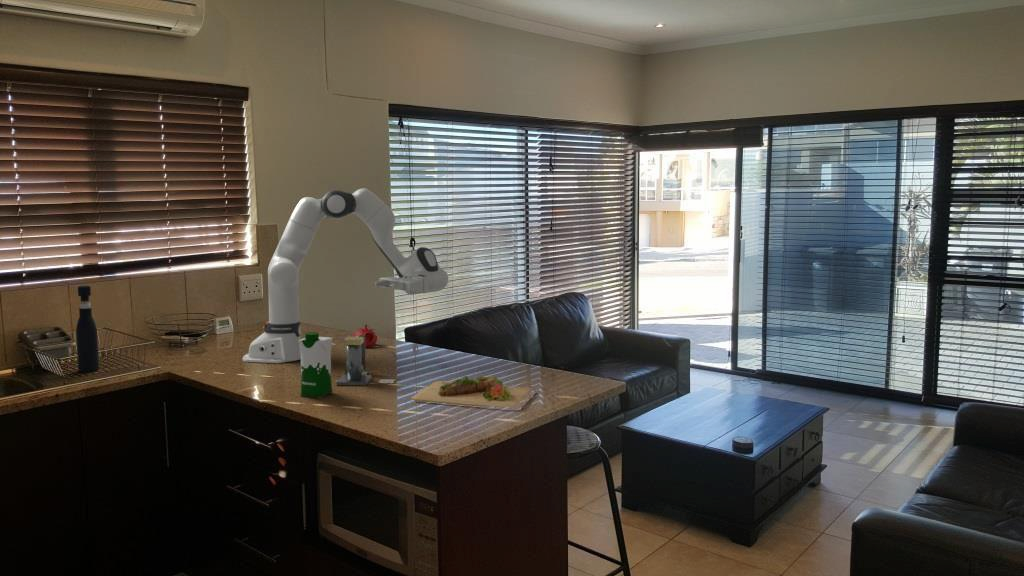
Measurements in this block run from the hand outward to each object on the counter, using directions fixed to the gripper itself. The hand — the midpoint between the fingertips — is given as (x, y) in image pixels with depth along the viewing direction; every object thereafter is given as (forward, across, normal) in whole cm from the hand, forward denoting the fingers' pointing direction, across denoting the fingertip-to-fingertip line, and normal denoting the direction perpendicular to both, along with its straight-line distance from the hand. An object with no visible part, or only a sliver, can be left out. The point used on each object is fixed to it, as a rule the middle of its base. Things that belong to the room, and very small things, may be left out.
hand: (383, 285), depth 277 cm
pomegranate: (-14, -32, +30) cm, 46 cm away
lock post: (+18, +15, +30) cm, 38 cm away
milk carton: (+41, +20, +30) cm, 55 cm away
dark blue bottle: (+82, -63, +30) cm, 107 cm away
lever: (+20, +11, +28) cm, 36 cm away
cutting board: (+7, +57, +31) cm, 65 cm away
